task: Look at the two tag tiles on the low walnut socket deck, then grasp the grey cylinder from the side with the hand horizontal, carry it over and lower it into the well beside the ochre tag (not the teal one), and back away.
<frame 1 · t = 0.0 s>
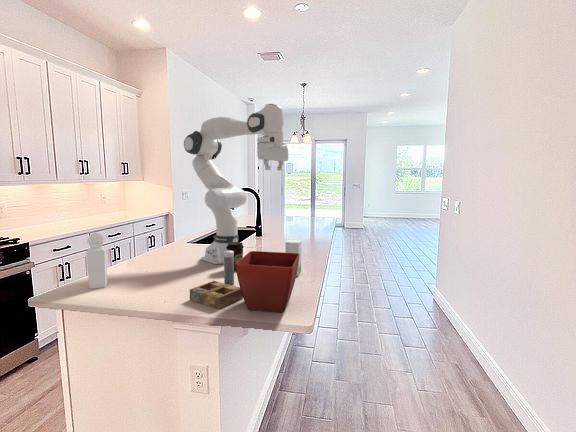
hand: (273, 170, 152), 48 cm above the worktop, tool pointing down, fingers open, 8 cm apart
plant pot: (269, 305, 114), on the worktop
coffee cup: (235, 269, 158), on the worktop
skincare box: (293, 274, 151), on the worktop
socket deck: (216, 299, 119), on the worktop
white bottle: (98, 286, 132), on the worktop
grey cylinder: (229, 284, 136), on the worktop
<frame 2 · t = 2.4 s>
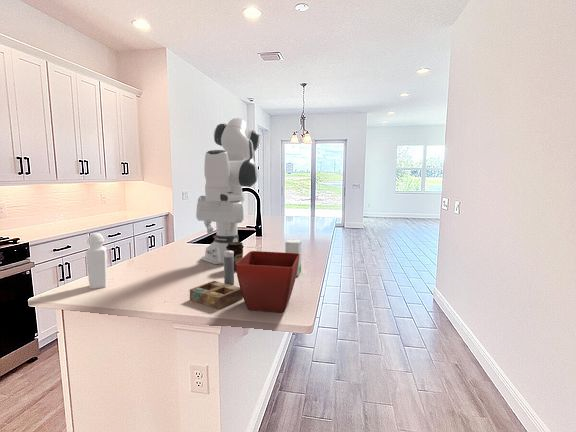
hand: (219, 234, 117), 24 cm above the worktop, tool pointing down, fingers open, 8 cm apart
nothing on the worktop moved.
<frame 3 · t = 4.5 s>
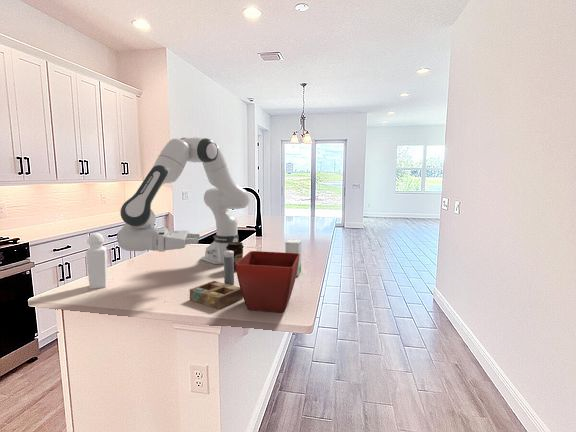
hand: (199, 238, 131), 20 cm above the worktop, tool horizontal, fingers open, 8 cm apart
nothing on the worktop moved.
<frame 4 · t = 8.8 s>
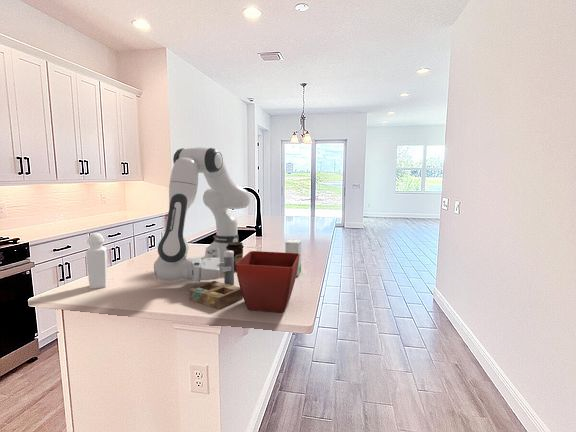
hand: (231, 266, 135), 8 cm above the worktop, tool horizontal, fingers closed on grey cylinder, 4 cm apart
grey cylinder: (229, 284, 136), on the worktop, touching gripper
everything else where it was.
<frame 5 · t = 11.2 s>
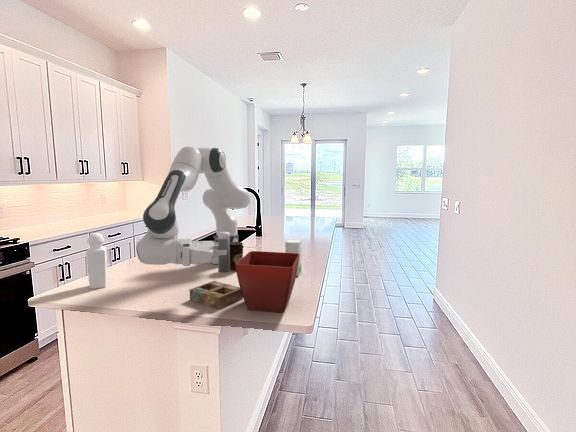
hand: (226, 250, 117), 18 cm above the worktop, tool horizontal, fingers closed on grey cylinder, 4 cm apart
grey cylinder: (223, 270, 117), point 11 cm above the worktop, touching gripper
everything else where it was.
when the fingers open (9 cm above the worktop, at t = 13.8 s): grey cylinder stays where it is, resting on socket deck.
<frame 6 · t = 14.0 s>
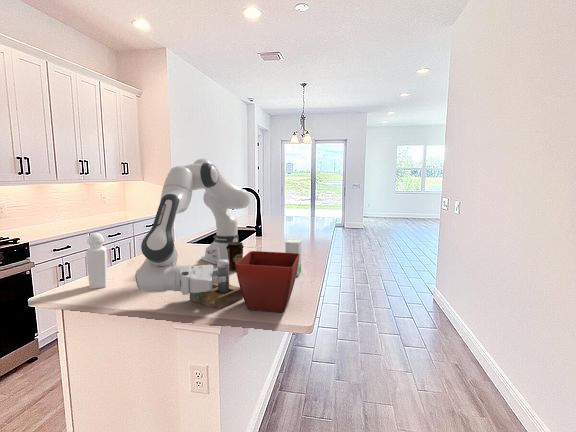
hand: (226, 275, 116), 9 cm above the worktop, tool horizontal, fingers open, 5 cm apart
grey cylinder: (223, 298, 117), point 1 cm above the worktop, touching socket deck
everything else where it was.
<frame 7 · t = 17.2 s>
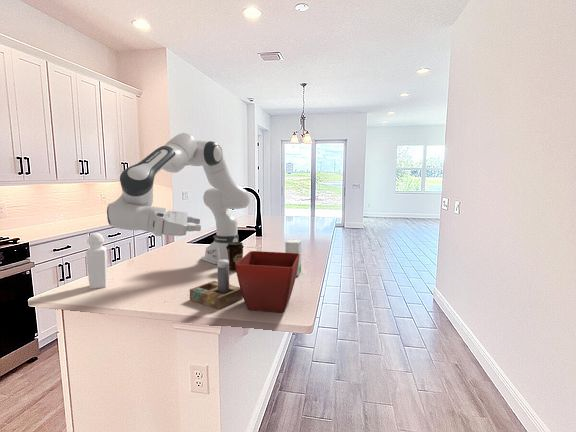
hand: (200, 224, 116), 28 cm above the worktop, tool horizontal, fingers open, 8 cm apart
nothing on the worktop moved.
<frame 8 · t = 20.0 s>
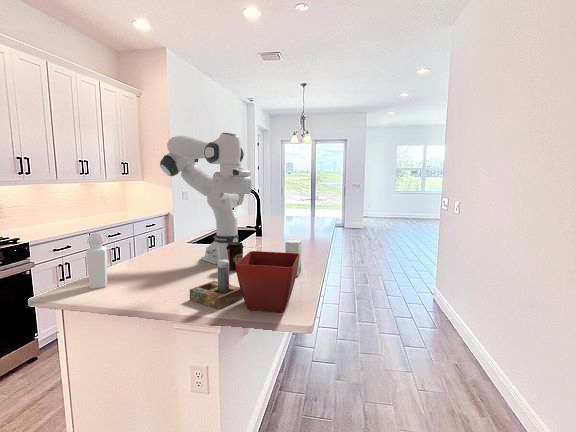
hand: (231, 204, 139), 33 cm above the worktop, tool pointing down, fingers open, 8 cm apart
nothing on the worktop moved.
at the end: grey cylinder 0.0 cm from the target spot on the socket deck, point 1.0 cm above the socket deck's base; grey cylinder tilted 0°; the gripper is holding nothing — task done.
